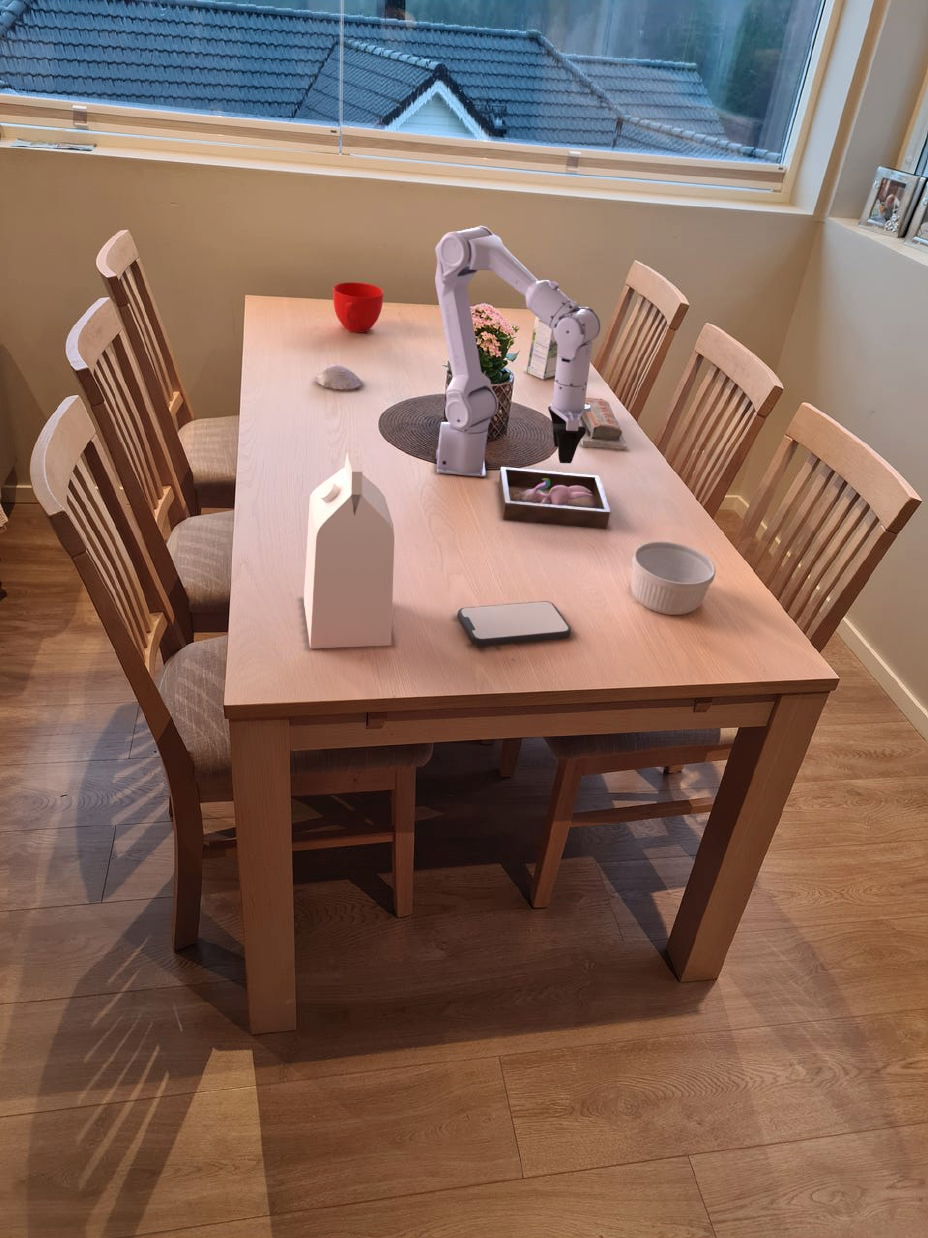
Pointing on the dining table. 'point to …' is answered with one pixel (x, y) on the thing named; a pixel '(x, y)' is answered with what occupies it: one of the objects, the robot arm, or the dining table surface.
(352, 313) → the ceramic cup
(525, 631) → the black smartphone
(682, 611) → the ramekin
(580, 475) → the tray
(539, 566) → the dining table surface
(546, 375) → the syrup box
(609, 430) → the butter dish
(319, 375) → the seashell
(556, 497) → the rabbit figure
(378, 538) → the milk
